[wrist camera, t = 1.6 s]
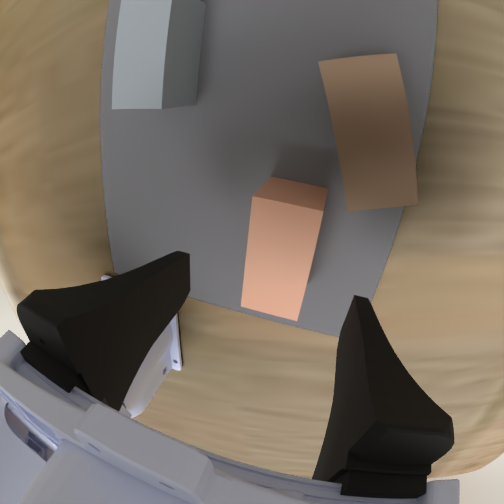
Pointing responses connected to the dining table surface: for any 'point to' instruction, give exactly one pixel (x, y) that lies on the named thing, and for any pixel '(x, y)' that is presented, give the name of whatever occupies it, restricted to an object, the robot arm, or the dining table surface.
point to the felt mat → (258, 146)
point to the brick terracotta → (281, 245)
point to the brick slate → (157, 53)
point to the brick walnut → (371, 131)
